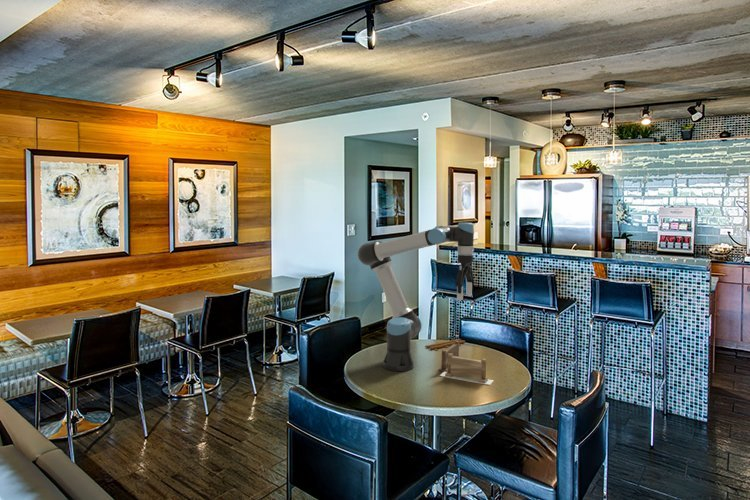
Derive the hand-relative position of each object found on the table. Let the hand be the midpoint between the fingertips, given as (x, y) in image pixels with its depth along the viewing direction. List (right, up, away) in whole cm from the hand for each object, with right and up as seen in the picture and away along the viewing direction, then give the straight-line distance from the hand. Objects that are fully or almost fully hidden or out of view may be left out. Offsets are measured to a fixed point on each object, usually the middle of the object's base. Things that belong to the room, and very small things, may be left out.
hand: (464, 297), depth 244 cm
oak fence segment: (-2, -36, -14) cm, 38 cm away
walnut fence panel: (-6, -34, +5) cm, 35 cm away
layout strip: (-2, -36, -14) cm, 39 cm away
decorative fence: (-4, -32, +39) cm, 50 cm away
